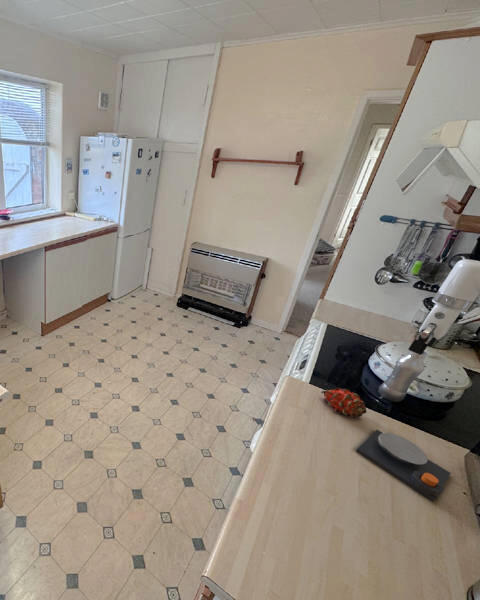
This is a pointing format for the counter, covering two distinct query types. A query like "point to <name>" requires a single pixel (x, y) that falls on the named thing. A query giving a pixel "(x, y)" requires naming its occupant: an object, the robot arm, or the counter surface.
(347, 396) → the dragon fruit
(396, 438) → the scale pan
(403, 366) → the plastic bottle
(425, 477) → the tare button
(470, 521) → the counter surface
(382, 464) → the scale
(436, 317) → the robot arm
